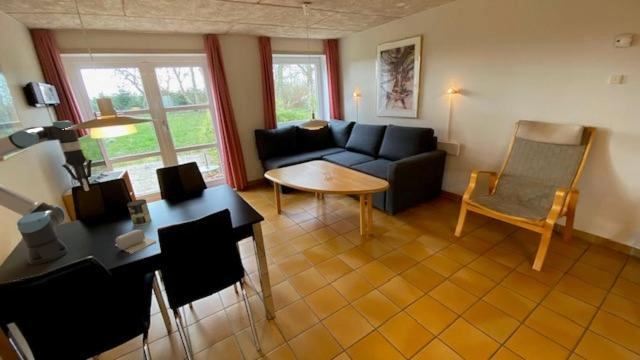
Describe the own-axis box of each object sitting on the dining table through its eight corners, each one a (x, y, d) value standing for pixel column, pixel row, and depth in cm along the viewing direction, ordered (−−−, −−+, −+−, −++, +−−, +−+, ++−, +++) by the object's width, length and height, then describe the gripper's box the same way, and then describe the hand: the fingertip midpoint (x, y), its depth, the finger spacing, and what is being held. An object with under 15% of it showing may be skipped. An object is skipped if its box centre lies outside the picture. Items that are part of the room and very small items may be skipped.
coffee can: (138, 227, 169) (132, 206, 165) (130, 223, 175) (124, 203, 170) (154, 220, 178) (149, 200, 173) (146, 217, 183) (141, 198, 178)
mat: (131, 254, 140) (131, 253, 140) (115, 245, 149) (115, 244, 149) (156, 241, 150) (156, 241, 150) (139, 234, 160) (139, 233, 159)
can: (121, 244, 138) (145, 233, 148) (114, 235, 141) (138, 225, 150) (122, 253, 143) (146, 242, 152) (115, 244, 145) (139, 234, 154)
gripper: (58, 152, 138) (74, 195, 146) (89, 147, 148) (103, 187, 156) (54, 151, 142) (70, 193, 150) (85, 146, 152) (98, 185, 160)
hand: (87, 190), depth 153 cm, fingers closed
